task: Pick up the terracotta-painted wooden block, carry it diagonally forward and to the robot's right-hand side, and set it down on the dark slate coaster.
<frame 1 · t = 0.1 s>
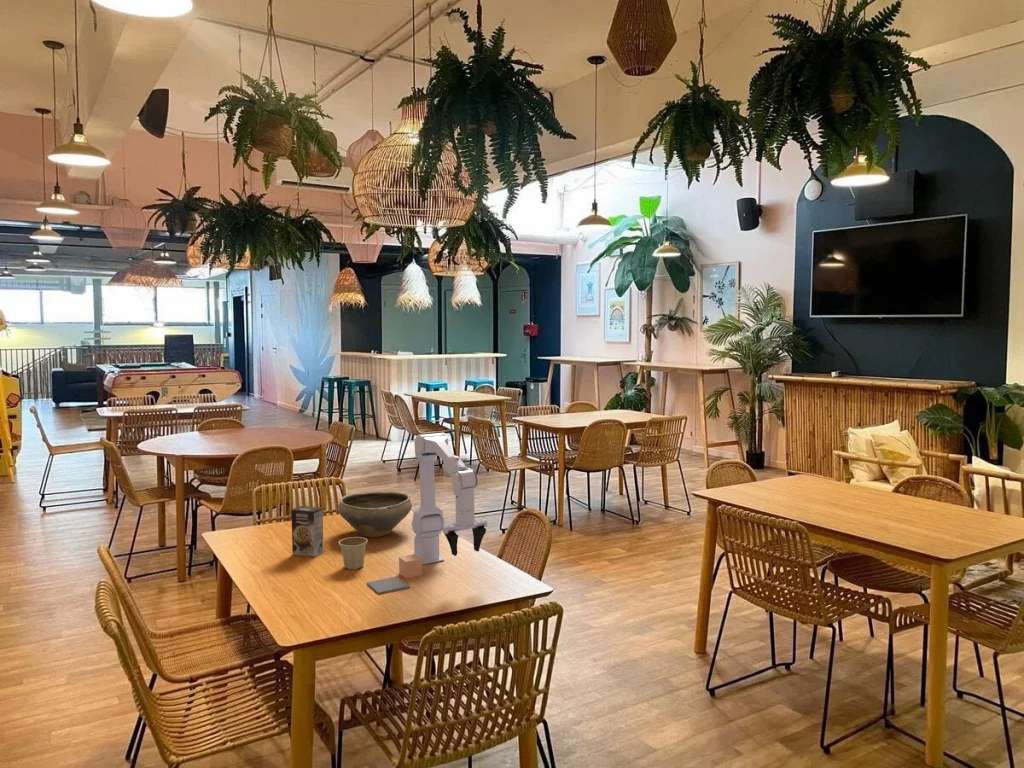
hand: (465, 552, 224), 10 cm above the table, fingers open, 7 cm apart
slate coaster: (388, 585, 224), on the table
flower pot: (353, 567, 242), on the table
painted block: (410, 574, 234), on the table
coffee box: (308, 554, 256), on the table
bowl: (375, 533, 281), on the table
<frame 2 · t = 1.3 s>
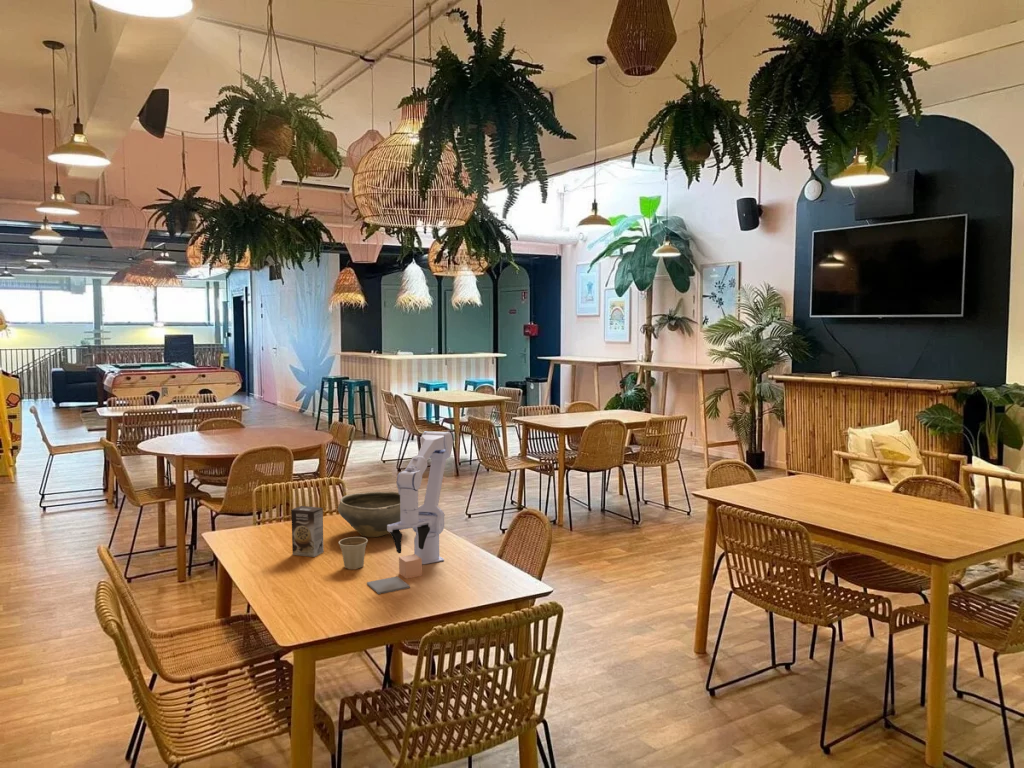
hand: (410, 550, 233), 8 cm above the table, fingers open, 7 cm apart
nothing on the table moved.
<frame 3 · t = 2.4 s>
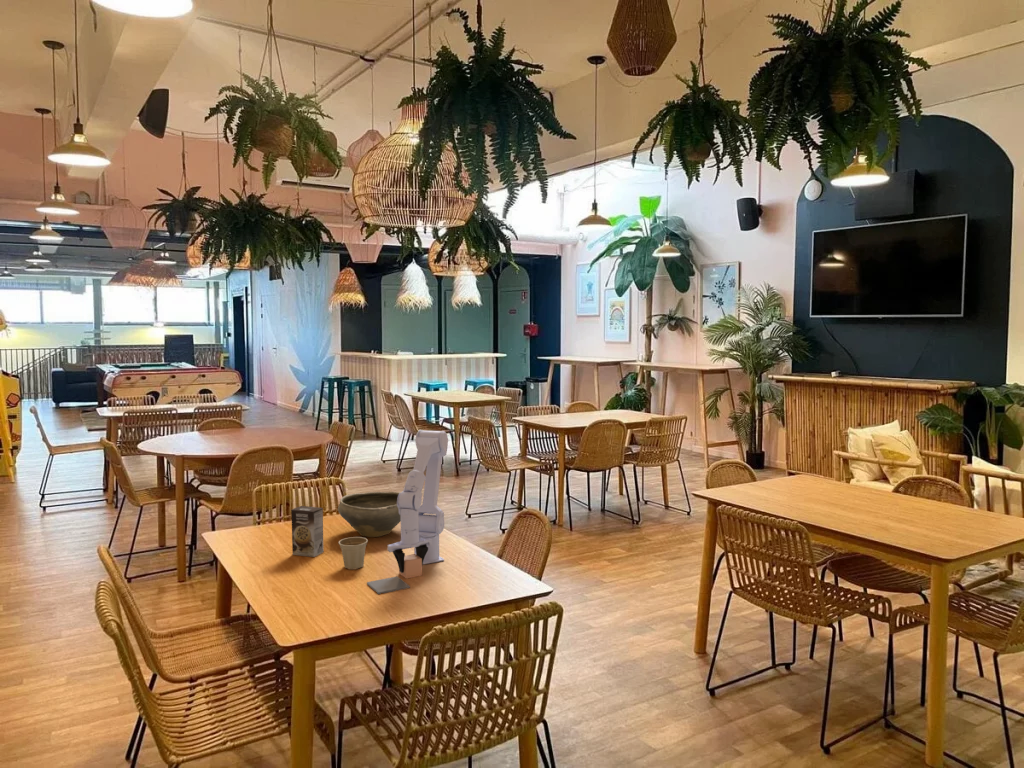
hand: (410, 570, 234), 1 cm above the table, fingers closed on painted block, 5 cm apart
painted block: (410, 574, 234), on the table, touching gripper
everything else where it was.
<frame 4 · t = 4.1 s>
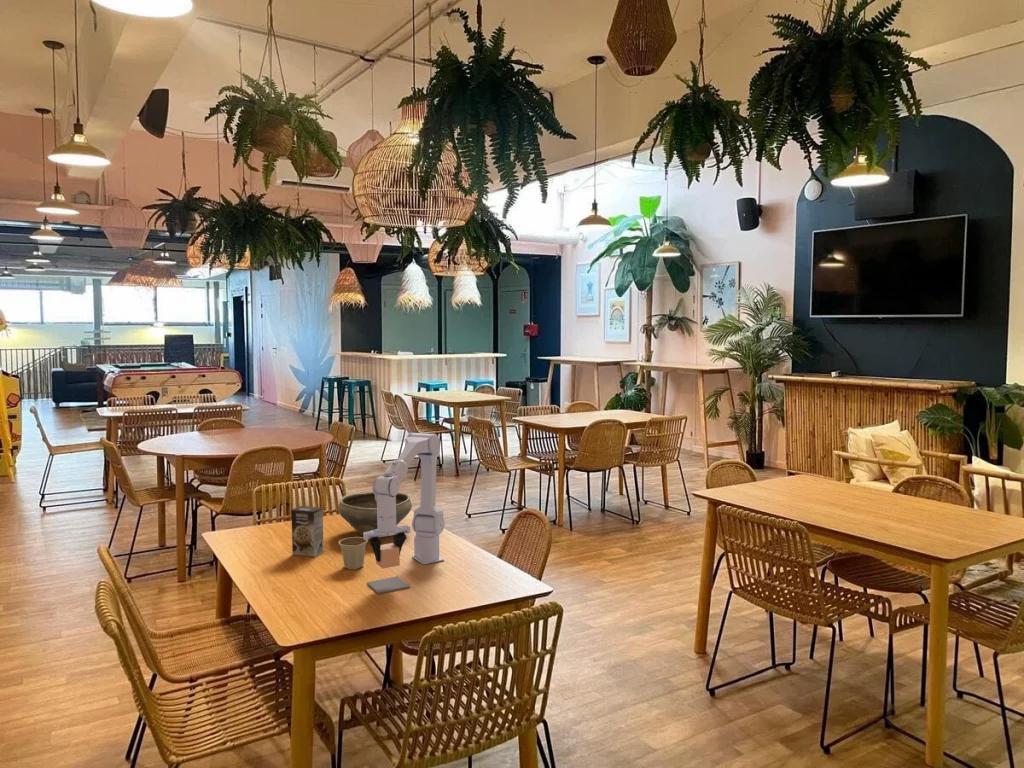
hand: (387, 559, 223), 8 cm above the table, fingers closed on painted block, 5 cm apart
painted block: (387, 564, 223), point 7 cm above the table, touching gripper
everything else where it was.
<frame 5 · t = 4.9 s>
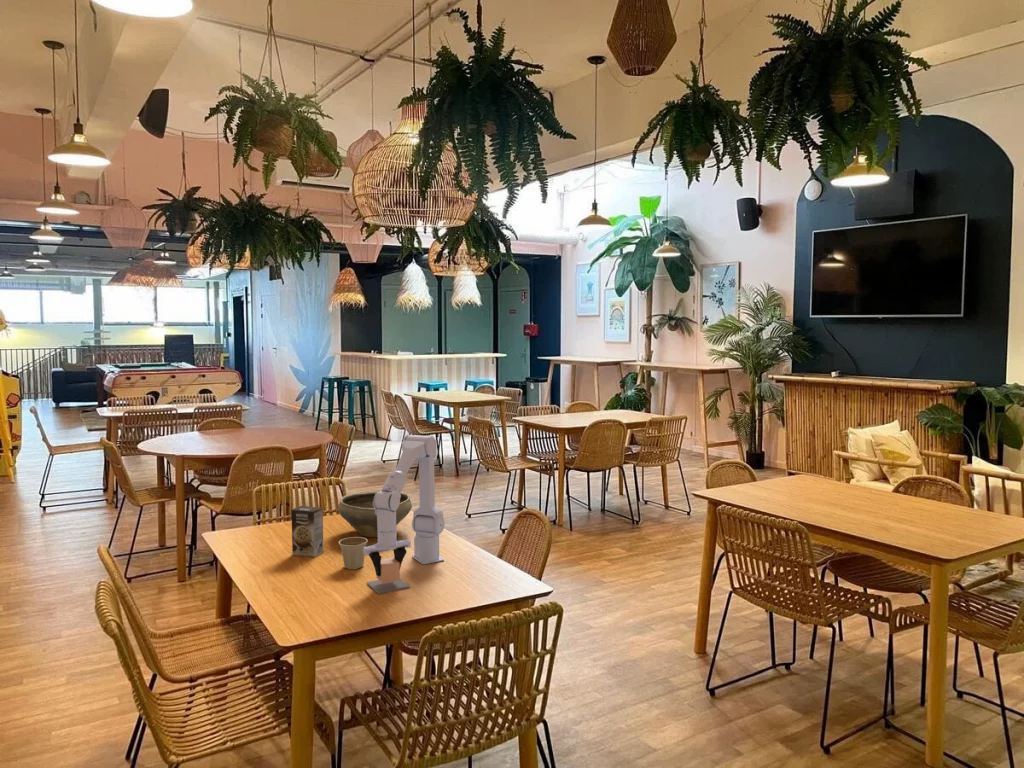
hand: (387, 573, 224), 4 cm above the table, fingers closed on painted block, 5 cm apart
painted block: (388, 578, 224), point 2 cm above the table, touching gripper
everything else where it was.
when the fingers open (3 cm above the table, at t = 5.7 s): painted block stays where it is, resting on slate coaster.
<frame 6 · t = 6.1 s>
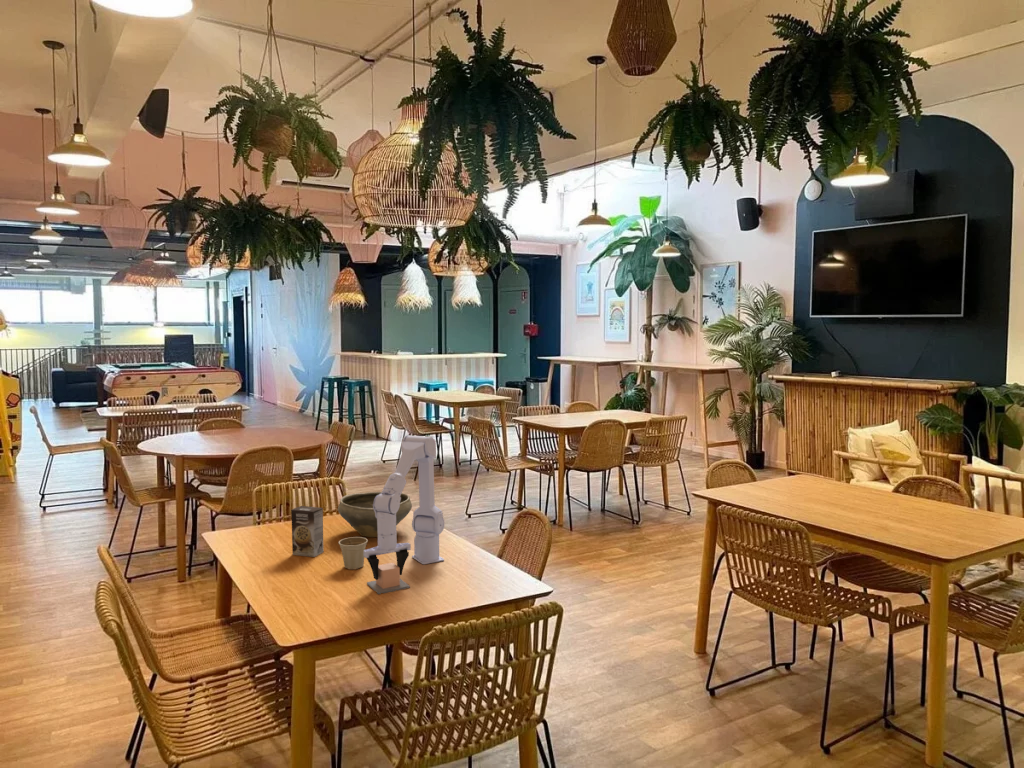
hand: (387, 576, 224), 3 cm above the table, fingers open, 7 cm apart
painted block: (387, 584, 224), point 1 cm above the table, touching slate coaster
everything else where it was.
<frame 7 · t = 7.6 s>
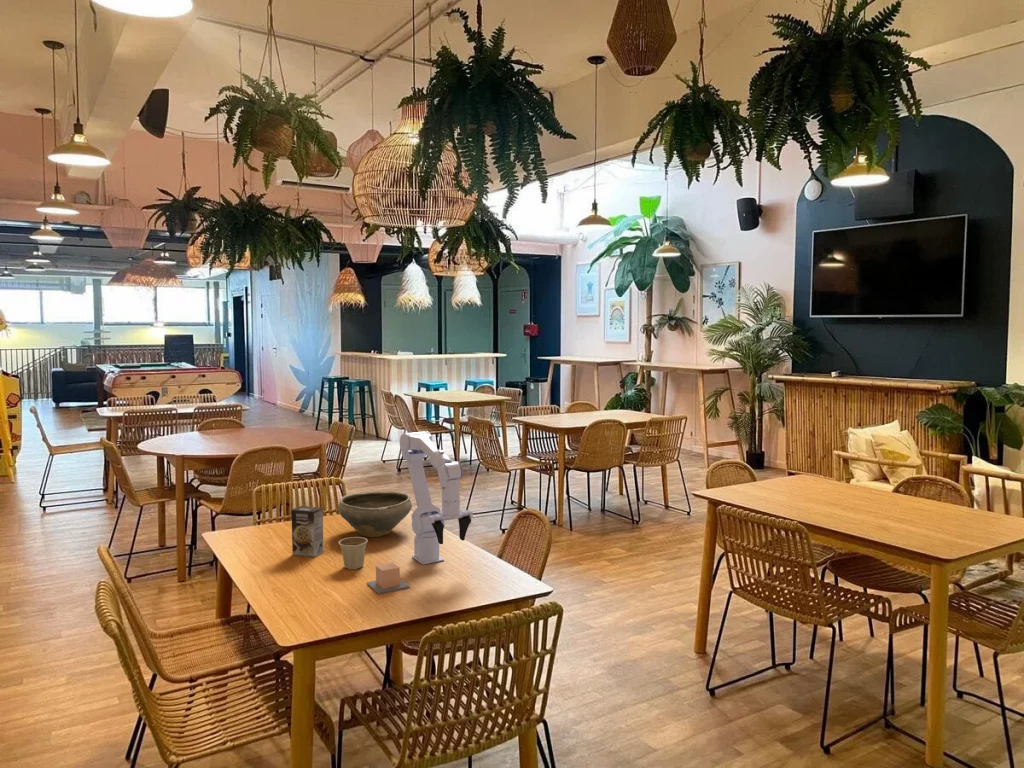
hand: (451, 541, 234), 10 cm above the table, fingers open, 7 cm apart
nothing on the table moved.
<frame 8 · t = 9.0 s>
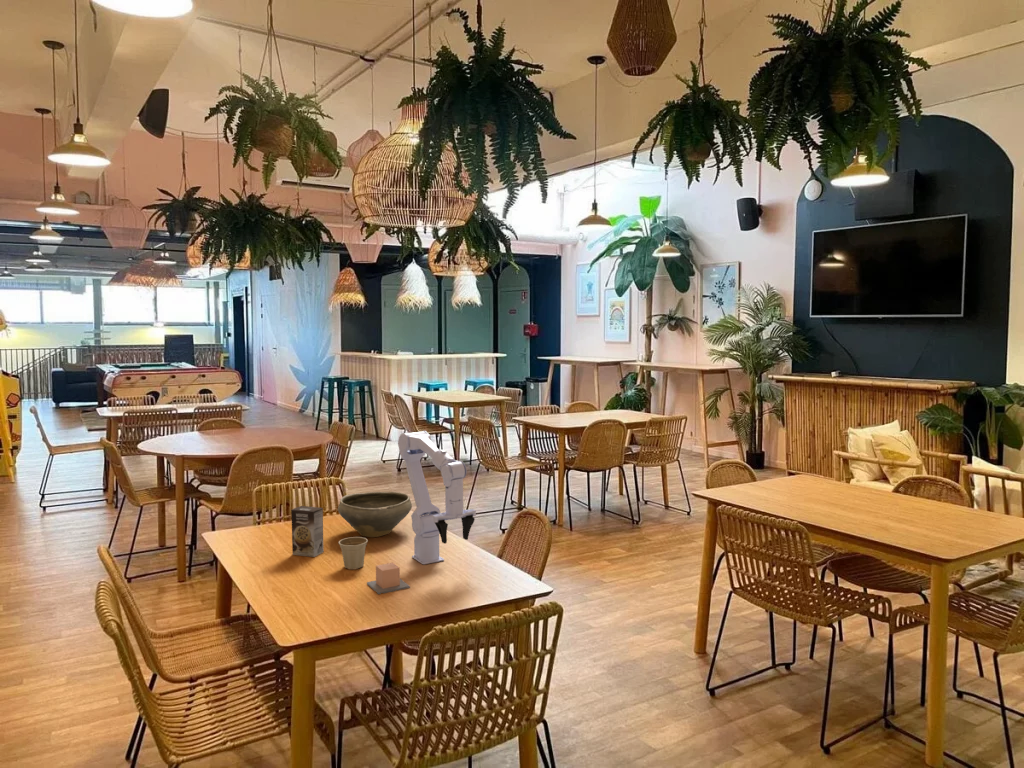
hand: (454, 540, 235), 10 cm above the table, fingers open, 7 cm apart
nothing on the table moved.
at the end: painted block inside the target area on the slate coaster (0.0 cm from its centre), point 0.6 cm above the slate coaster's base; painted block tilted 0°; the gripper is holding nothing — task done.
